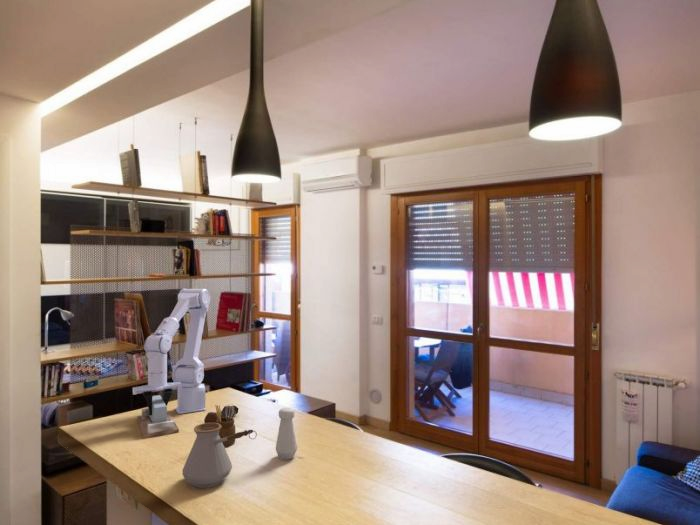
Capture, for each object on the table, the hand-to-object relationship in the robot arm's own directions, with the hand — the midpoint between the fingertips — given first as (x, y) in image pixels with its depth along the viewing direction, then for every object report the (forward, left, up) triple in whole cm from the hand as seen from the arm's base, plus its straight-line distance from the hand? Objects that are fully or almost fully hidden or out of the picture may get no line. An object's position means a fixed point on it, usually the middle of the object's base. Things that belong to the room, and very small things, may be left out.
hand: (157, 413), depth 149 cm
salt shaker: (-27, +45, -4) cm, 52 cm away
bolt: (-20, +7, -4) cm, 22 cm away
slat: (0, 0, -2) cm, 2 cm away
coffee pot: (-7, +52, -4) cm, 53 cm away
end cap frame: (0, 0, -4) cm, 4 cm away
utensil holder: (-15, +27, -4) cm, 31 cm away
